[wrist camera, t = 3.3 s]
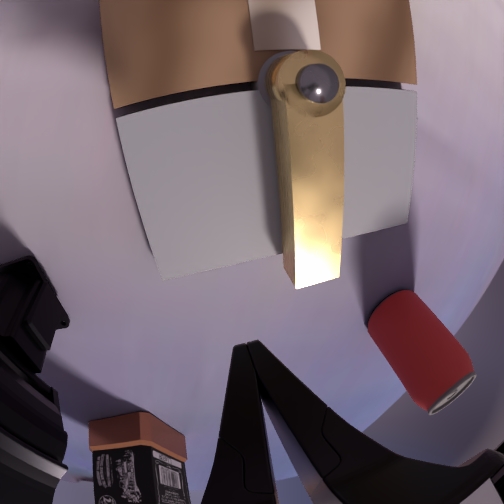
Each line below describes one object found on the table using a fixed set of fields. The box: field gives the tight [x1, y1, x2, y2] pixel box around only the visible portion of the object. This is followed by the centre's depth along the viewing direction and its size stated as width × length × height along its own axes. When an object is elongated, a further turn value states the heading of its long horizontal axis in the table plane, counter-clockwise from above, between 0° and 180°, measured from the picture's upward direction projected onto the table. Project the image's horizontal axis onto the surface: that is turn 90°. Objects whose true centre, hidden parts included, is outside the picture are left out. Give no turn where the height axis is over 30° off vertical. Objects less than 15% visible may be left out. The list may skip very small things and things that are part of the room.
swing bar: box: [265, 50, 346, 289], centre depth 14 cm, size 13×3×3 cm, turn 6°
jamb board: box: [116, 51, 417, 281], centre depth 16 cm, size 18×12×2 cm, turn 96°
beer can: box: [368, 290, 476, 415], centre depth 23 cm, size 7×7×12 cm
